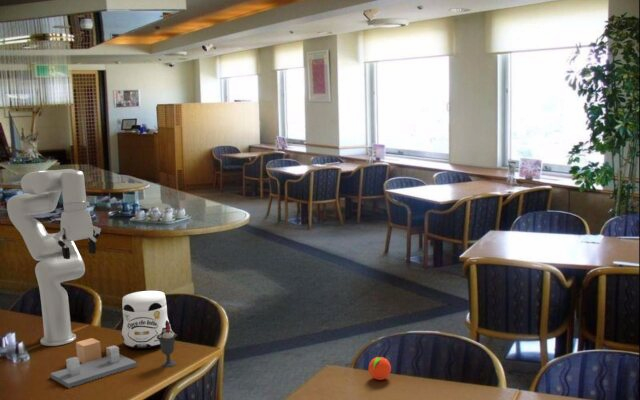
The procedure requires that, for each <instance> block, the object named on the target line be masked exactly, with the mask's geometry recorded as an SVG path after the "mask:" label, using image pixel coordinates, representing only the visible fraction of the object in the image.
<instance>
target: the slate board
mask: <svg viewBox="0 0 640 400" xmlns="http://www.w3.org/2000/svg"><path fill="white" fill-rule="evenodd" d="M119 357H120V362H117V363H113V364H111V363H109V362H107V356H104V357H102V358H100V359H97V360H93V361H90V362H87V363H80V373H81V374H78V375H74V376H70V375H68V374H67V368H63V369H60V370H56V371H53V372H51V373H50V375H49V376H50V379H52V380H54V381H56V382H58V383H59V384H60V385H62V386H64V387H66V388H67V387H68V389H71V388H74V387H77V386H81V385H83V384H87V383H90V382H92V380H93V381H96V380H99V379H101V377H102V378H106V377H109V376H112V375H115V374H118V373H120V372H123V371H127V370H129V369H133V368H134V369H135V368H136V367H138V363H137V361H135V360H133V359H131V358H129V357H126V356H124V355H123V354H120V353H119ZM117 372H118V373H117ZM114 373H115V374H114ZM111 374H112V375H111ZM108 375H109V376H108ZM98 378H99V379H98ZM95 379H96V380H95ZM89 381H90V382H89ZM86 382H87V383H86ZM73 386H74V387H73Z"/></svg>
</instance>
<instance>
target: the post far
mask: <svg viewBox="0 0 640 400" xmlns="http://www.w3.org/2000/svg"><path fill="white" fill-rule="evenodd" d="M105 349H106V357H107V362H109V363H111V364H113V363H117V362H120V357H119V354H120V347H118V346H117V345H114V344H113V345H110V346H107V347H106V348H105Z"/></svg>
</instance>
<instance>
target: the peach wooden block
mask: <svg viewBox="0 0 640 400" xmlns="http://www.w3.org/2000/svg"><path fill="white" fill-rule="evenodd" d="M75 348H76V349H75V350H76V357H77V358H79V362H80V364H83V363H87V362H90V361H93V360H97V359H100V358H103V357H102V348H101V341H99V340H97V339H95V338H93V337H90V338H87V339H83V340H80V341H75Z"/></svg>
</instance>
